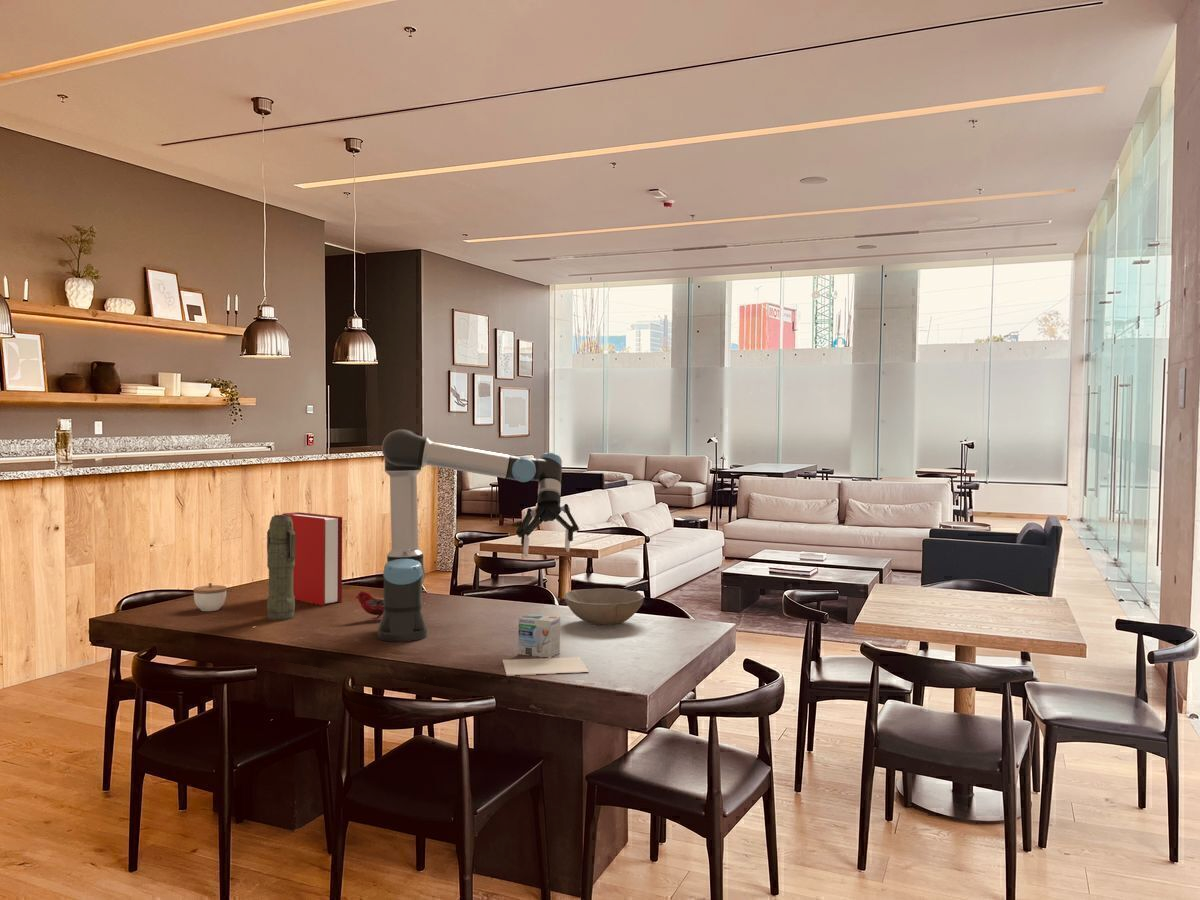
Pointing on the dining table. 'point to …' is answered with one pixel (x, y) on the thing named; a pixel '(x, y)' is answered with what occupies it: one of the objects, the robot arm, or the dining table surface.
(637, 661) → the dining table surface
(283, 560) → the stone statue
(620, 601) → the bowl
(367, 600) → the decorative bird figurine
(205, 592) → the lidded jar
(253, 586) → the dining table surface
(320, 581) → the book
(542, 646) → the light bulb box
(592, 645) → the dining table surface
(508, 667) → the mat
